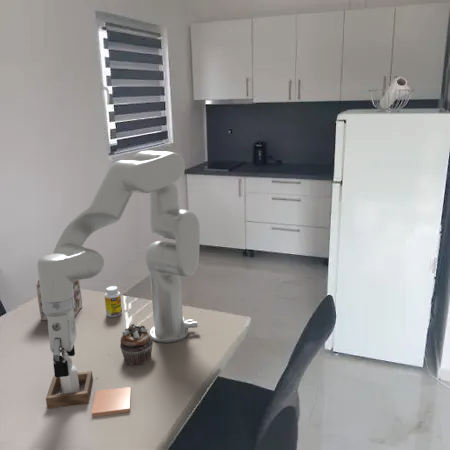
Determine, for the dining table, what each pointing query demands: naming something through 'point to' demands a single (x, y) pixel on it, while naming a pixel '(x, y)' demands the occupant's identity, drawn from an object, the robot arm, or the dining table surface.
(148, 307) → the dining table surface
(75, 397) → the walnut holder
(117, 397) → the terracotta tile
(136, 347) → the cupcake
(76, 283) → the decorative jar
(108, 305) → the supplement bottle
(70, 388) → the eye dropper bottle
